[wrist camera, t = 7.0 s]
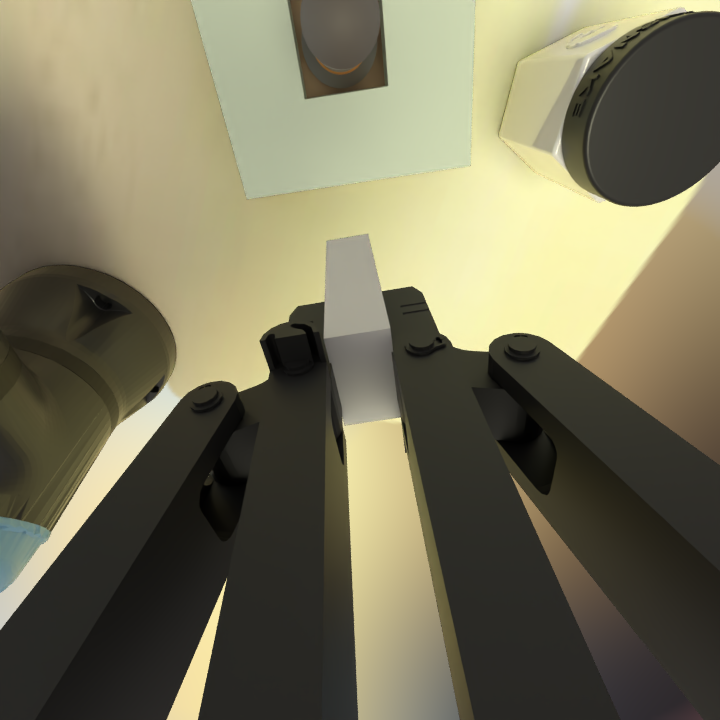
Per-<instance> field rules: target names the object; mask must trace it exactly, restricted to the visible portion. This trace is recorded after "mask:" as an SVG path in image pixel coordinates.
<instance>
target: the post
mask: <svg viewBox="0 0 720 720" xmlns="http://www.w3.org/2000/svg"><path fill="white" fill-rule="evenodd" d="M290 4H291V10H292V15H293V21H294V27H295V33H296V38H297V44H298V50H299V56H300V61H301V67H302V73H303V79H304V84H305V90H306V96H307V98H311V97H318V96H324V95H330V94H337V93H343V92H349V91H356V90H362V89H368V88H374V87H381V86H385V78H384V65H383V52H382V39H381V26H380V9H379V0H290Z"/></svg>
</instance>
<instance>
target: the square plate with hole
mask: <svg viewBox="0 0 720 720" xmlns="http://www.w3.org/2000/svg"><path fill="white" fill-rule="evenodd" d="M191 3H192V6H193V10H194V14H195V17H196V21H197V24H198V28H199V31H200V35H201V38H202V42H203V45H204V49H205V53H206V56H207V60H208V63H209V67H210V70H211V74H212V77H213V81H214V84H215V88H216V91H217V95H218V99H219V102H220V106H221V109H222V113H223V116H224V120H225V123H226V127H227V130H228V134H229V138H230V141H231V145H232V148H233V152H234V155H235V159H236V162H237V166H238V169H239V173H240V176H241V180H242V184H243V187H244V191H245V194H246V198H247V199H253V198H260V197H266V196H273V195H280V194H287V193H293V192H300V191H307V190H313V189H320V188H327V187H333V186H340V185H347V184H353V183H360V182H367V181H373V180H380V179H387V178H393V177H400V176H407V175H414V174H420V173H427V172H434V171H440V170H447V169H454V168H460V167H467V166H471V134H472V101H473V67H474V34H475V0H379V9H380V26H381V39H382V52H383V65H384V78H385V86H381V87H374V88H368V89H362V90H356V91H349V92H343V93H337V94H330V95H324V96H318V97H311V98H307V96H306V90H305V84H304V79H303V73H302V67H301V61H300V56H299V50H298V44H297V38H296V33H295V27H294V21H293V15H292V10H291V4H290V0H191Z"/></svg>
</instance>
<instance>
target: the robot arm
mask: <svg viewBox="0 0 720 720" xmlns="http://www.w3.org/2000/svg"><path fill="white" fill-rule="evenodd" d="M260 344H261V347H262V349H263V352H264V355H265V358H266V361H267V363H268V366H269V369H270V374H269V379H268V380H267V381H265V382H263V383H261V384H259V385H257V386H255V387H252V388H249V389H247V390H244V391H241V392H238V391H237V389H236V386H234V385H233V384H231V383H230V382H224V381H217V382H210V383H206V384H203V385H201V386H198V387H197V388H195V389H194V390H192V391H190V392H189V393H188V394H186V395H185V396H184V397H183V398H182V399H181V400H180V402H179V403H178V404H177V405H176V407H175V408H174V409H173V410H172V412H171V413H170V414H169V416H168V417H167V418H166V419H165V421H164V422H163V423H162V425H161V426H160V427H159V428H158V430H157V431H156V432H155V434H154V435H153V436H152V438H151V439H150V440H149V441H148V442H147V444H146V445H145V446H144V448H143V449H142V450H141V451H140V453H139V454H138V455H137V456H136V458H135V459H134V460H133V462H132V463H131V464H130V465H129V467H128V468H127V469H126V470H125V472H124V473H123V474H122V476H121V477H120V478H119V480H118V481H117V482H116V483H115V485H114V486H113V487H112V488H111V490H110V491H109V492H108V493H107V495H106V496H105V497H104V499H103V500H102V501H101V502H100V504H99V505H98V506H97V507H96V509H95V510H94V511H93V513H92V514H91V515H90V516H89V518H88V519H87V520H86V522H85V523H84V524H83V525H82V527H81V528H80V529H79V530H78V532H77V533H76V534H75V536H74V537H73V538H72V539H71V541H70V542H69V543H68V544H67V546H66V547H65V548H64V550H63V551H62V552H61V553H60V555H59V556H58V557H57V559H56V560H55V561H54V563H53V564H52V565H51V566H50V568H49V569H48V570H47V571H46V573H45V574H44V575H43V576H42V578H41V579H40V580H39V581H38V583H37V584H36V585H35V587H34V588H33V589H32V591H31V592H30V593H29V594H28V596H27V597H26V598H25V599H24V601H23V602H22V603H21V604H20V606H19V607H18V608H17V610H16V611H15V612H14V613H13V615H12V616H11V617H10V619H9V620H8V621H7V622H6V624H5V625H4V626H3V628H2V629H1V630H0V720H166V719H167V717H168V715H169V712H170V710H171V708H172V705H173V703H174V701H175V698H176V696H177V694H178V691H179V689H180V687H181V684H182V682H183V680H184V677H185V675H186V673H187V670H188V668H189V666H190V663H191V661H192V658H193V656H194V654H195V651H196V649H197V647H198V644H199V642H200V640H201V637H202V635H203V633H204V630H205V628H206V626H207V623H208V621H209V619H210V616H211V614H212V611H213V609H214V607H215V605H216V602H217V600H218V597H219V595H220V593H221V591H222V588H223V586H224V583H225V581H226V579H227V582H226V587H225V592H224V596H223V601H222V606H221V611H220V616H219V621H218V626H217V630H216V635H215V640H214V645H213V649H212V655H211V659H210V664H209V669H208V674H207V678H206V683H205V688H204V693H203V698H202V703H201V707H200V712H199V717H198V720H358V705H357V684H356V683H357V682H356V659H355V637H354V613H353V591H352V571H351V570H352V569H351V545H350V522H349V500H348V476H347V453H346V439H345V435H344V431H343V426H342V417H343V421H344V425H352V424H359V423H365V422H372V421H379V420H385V419H392V418H399V417H401V421H402V429H403V437H404V445H405V453H407V455H408V460H409V465H410V470H411V475H412V481H413V486H414V491H415V496H416V501H417V506H418V511H419V516H420V521H421V526H422V531H423V536H424V541H425V546H426V551H427V556H428V561H429V566H430V571H431V576H432V581H433V586H434V591H435V596H436V602H437V607H438V612H439V617H440V622H441V627H442V632H443V637H444V642H445V647H446V652H447V657H448V662H449V667H450V671H451V677H452V682H453V687H454V692H455V697H456V702H457V707H458V712H459V717H460V720H620V718H619V715H618V713H617V711H616V709H615V707H614V704H613V702H612V700H611V697H610V695H609V693H608V691H607V689H606V686H605V684H604V682H603V680H602V678H601V675H600V673H599V671H598V669H597V666H596V665H595V662H594V660H593V657H592V655H591V653H590V651H589V649H588V647H587V644H586V642H585V640H584V637H583V635H582V633H581V631H580V628H579V626H578V624H577V622H576V620H575V617H574V615H573V613H572V611H571V609H570V607H569V604H568V602H567V600H566V597H565V595H564V593H563V591H562V589H561V586H560V584H559V582H558V580H557V577H556V575H555V573H554V571H553V569H552V566H551V564H550V562H549V559H548V557H547V555H546V553H545V551H544V549H543V546H542V544H541V542H540V540H539V537H538V535H537V533H536V530H535V528H534V526H533V524H532V522H531V519H530V517H529V515H528V513H527V510H526V508H525V506H524V504H523V502H522V499H521V497H520V495H519V493H518V490H517V488H516V486H515V484H514V481H513V479H512V477H511V475H512V476H513V478H514V479H515V480H516V481H517V483H518V484H519V485H520V486H521V488H522V489H523V490H524V492H525V493H526V494H527V495H528V496H529V498H530V499H531V500H532V502H533V503H534V504H535V506H536V507H537V508H538V509H539V511H540V512H541V513H542V514H543V516H544V517H545V518H546V520H547V521H548V522H549V523H550V525H551V526H552V527H553V528H554V530H555V531H556V532H557V534H558V535H559V536H560V537H561V539H562V540H563V541H564V542H565V544H566V545H567V546H568V548H569V549H570V550H571V551H572V553H573V554H574V555H575V556H576V558H577V559H578V560H579V562H580V563H581V564H582V565H583V567H584V568H585V569H586V570H587V572H588V573H589V574H590V576H591V577H592V578H593V579H594V581H595V582H596V583H597V584H598V586H599V587H600V588H601V589H602V591H603V592H604V593H605V595H606V596H607V597H608V598H609V600H610V601H611V602H612V603H613V605H614V606H615V607H616V609H617V610H618V611H619V612H620V614H621V615H622V616H623V617H624V619H625V620H626V621H627V622H628V624H629V625H630V626H631V628H632V629H633V630H634V631H635V633H636V634H637V635H638V637H639V638H640V639H641V640H642V641H643V643H644V644H645V645H646V647H647V648H648V649H649V650H650V652H651V653H652V654H653V656H654V657H655V658H656V659H657V661H658V662H659V663H660V664H661V666H662V667H663V668H664V670H665V671H666V672H667V673H668V675H669V676H670V677H671V679H672V680H673V681H674V682H675V684H676V685H677V686H678V687H679V688H680V690H681V691H682V693H683V694H684V695H685V696H686V698H687V699H688V700H689V701H690V703H691V704H692V705H693V707H694V708H695V709H696V710H697V712H698V713H699V714H700V715H701V717H702V718H703V719H704V720H720V465H719V464H717V463H716V462H714V461H713V460H711V459H710V458H709V457H708V456H706V455H705V454H703V453H702V452H701V451H699V450H698V449H697V448H695V447H694V446H692V445H691V444H690V443H688V442H686V441H685V440H684V439H683V438H681V437H680V436H679V435H677V434H676V433H674V432H673V431H672V430H670V429H669V428H668V427H666V426H665V425H663V424H662V423H661V422H659V421H658V420H657V419H655V418H654V417H652V416H651V415H650V414H648V413H647V412H646V411H644V410H643V409H641V408H640V407H639V406H637V405H636V404H634V403H633V402H632V401H630V400H629V399H628V398H626V397H625V396H623V395H622V394H621V393H619V392H618V391H617V390H615V389H614V388H612V387H611V386H610V385H608V384H607V383H606V382H604V381H603V380H601V379H600V378H599V377H597V376H596V375H594V374H593V373H592V372H590V371H589V370H588V369H586V368H585V367H583V366H582V365H581V364H579V363H578V362H577V361H575V360H574V359H572V358H571V357H570V356H568V355H567V354H566V353H564V352H563V351H561V350H560V349H559V348H557V347H556V346H555V345H553V344H552V343H550V342H549V341H547V340H545V339H543V338H541V337H539V336H535V335H531V334H526V333H513V334H507V335H503V336H501V337H499V338H496V339H494V341H493V342H492V343H491V344H490V345H489V352H480V351H467V350H461V349H458V348H455V347H453V346H452V343H451V342H450V341H449V339H448V338H447V337H446V336H444V335H442V334H440V333H439V331H438V329H437V326H436V324H435V322H434V319H433V317H432V315H431V312H430V311H429V308H428V305H427V303H426V300H425V298H424V296H423V293H422V292H420V291H419V290H417V289H415V288H414V287H406V288H400V289H393V290H387V291H381V286H380V282H379V278H378V274H377V269H376V265H375V261H374V257H373V253H372V248H371V244H370V240H369V236H368V234H364V235H358V236H352V237H346V238H340V239H334V240H328V241H327V245H326V277H325V302H321V303H315V304H309V305H303V306H298V307H297V308H296V309H295V310H294V311H293V313H292V314H291V315H290V317H289V322H287V323H283V324H280V325H278V326H276V327H273V328H271V329H270V330H269V331H267V332H266V333H265V334H264V335H263V336H262V338H261V339H260ZM175 361H176V348H175V342H174V339H173V336H172V333H171V331H170V329H169V327H168V325H167V323H166V322H165V320H164V319H163V317H162V316H161V314H160V313H159V312H158V311H157V309H156V308H155V307H154V306H153V305H152V304H151V303H150V302H149V301H148V300H147V299H145V298H144V297H143V296H142V295H141V294H139V293H138V292H137V291H135V290H134V289H133V288H131V287H130V286H128V285H126V284H125V283H123V282H121V281H119V280H117V279H115V278H113V277H111V276H108V275H106V274H104V273H101V272H98V271H95V270H91V269H87V268H83V267H77V266H67V265H55V266H46V267H41V268H38V269H34V270H32V271H29V272H27V273H25V274H24V275H22V276H21V277H19V278H17V279H16V280H14V281H13V282H11V283H9V284H8V285H6V286H5V287H4V288H3V289H2V290H1V291H0V593H1V592H2V591H4V590H5V589H6V588H7V587H8V586H9V585H10V584H12V583H13V582H14V580H15V579H16V578H17V577H18V576H19V574H20V573H21V571H22V570H23V569H24V567H25V566H26V565H27V563H28V562H29V560H30V559H31V558H32V556H33V555H34V553H35V552H36V550H37V549H38V548H39V546H40V545H41V544H43V543H44V542H46V541H47V540H48V538H49V537H50V534H51V531H52V530H53V528H54V526H55V525H56V523H57V522H58V520H59V518H60V517H61V515H62V513H63V512H64V510H65V509H66V507H67V505H68V504H69V502H70V500H71V499H72V497H73V495H74V494H75V492H76V491H77V489H78V487H79V485H80V484H81V482H82V481H83V479H84V478H85V476H86V474H87V473H88V471H89V469H90V468H91V466H92V464H93V463H94V461H95V460H96V458H97V456H98V455H99V453H100V451H101V450H102V448H103V447H104V445H105V443H106V441H107V439H108V438H109V437H110V435H111V433H112V432H113V430H114V429H115V427H116V426H117V425H119V424H120V423H121V422H123V421H124V420H126V418H128V417H130V416H131V415H132V414H134V413H135V412H136V411H138V410H139V409H141V408H142V407H143V406H145V405H146V404H147V403H149V402H150V401H152V400H153V399H154V398H155V397H156V396H157V395H158V394H159V393H160V392H161V390H162V389H163V388H164V386H165V384H166V383H167V381H168V379H169V377H170V376H171V374H172V372H173V369H174V366H175ZM510 474H511V475H510ZM227 576H228V577H227Z"/></svg>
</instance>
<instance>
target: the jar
mask: <svg viewBox="0 0 720 720" xmlns="http://www.w3.org/2000/svg"><path fill="white" fill-rule="evenodd" d="M499 137H500V139H501V140H502V141H503V142H504V143H506V144H507V145H508V146H509V147H510V148H511V149H512V150H513V151H514V152H515V153H516V154H517V155H518V156H519V157H520V158H521V159H522V160H523V161H524V162H525V163H526V164H527V165H528V166H529V167H530V168H531V169H532V170H533V171H534V172H535V173H536V174H538V175H540V176H542V177H544V178H547V179H549V180H551V181H553V182H555V183H557V184H559V185H561V186H563V187H565V188H568V189H570V190H572V191H574V192H576V193H578V194H580V195H582V196H584V197H587V198H589V199H591V200H593V201H595V202H597V203H600V202H603V201H605V200H607V201H609V202H612V203H614V204H618V205H622V206H630V207H638V206H647V205H652V204H656V203H659V202H662V201H665V200H667V199H670V198H672V197H674V196H676V195H678V194H680V193H682V192H683V191H685V190H687V189H688V188H690V187H691V186H693V185H694V184H695V183H697V182H698V181H700V180H701V179H702V178H703V177H704V176H706V175H707V174H708V173H709V172H710V171H711V170H712V169H713V168H714V167H715V166H716V165H717V164H718V163H719V162H720V12H716V11H701V12H693V11H689V12H687V11H686V10H685V8H683V7H679V8H674V9H669V10H664V11H660V12H655V13H650V14H645V15H641V16H636V17H631V18H626V19H622V20H617V21H612V22H607V23H603V24H598V25H593V26H588V27H584V28H582V29H580V30H578V31H576V32H574V33H572V34H571V35H569V36H567V37H565V38H563V39H561V40H559V41H557V42H555V43H553V44H551V45H549V46H547V47H545V48H543V49H541V50H539V51H537V52H535V53H534V54H532V55H530V56H528V57H526V58H524V59H522V60H520V61H519V62H518V64H517V68H516V72H515V75H514V79H513V83H512V87H511V90H510V94H509V98H508V102H507V106H506V109H505V113H504V117H503V121H502V124H501V128H500V132H499Z"/></svg>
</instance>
